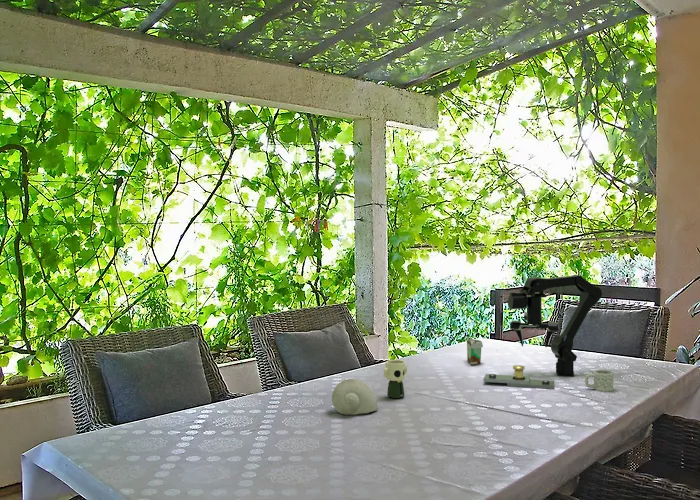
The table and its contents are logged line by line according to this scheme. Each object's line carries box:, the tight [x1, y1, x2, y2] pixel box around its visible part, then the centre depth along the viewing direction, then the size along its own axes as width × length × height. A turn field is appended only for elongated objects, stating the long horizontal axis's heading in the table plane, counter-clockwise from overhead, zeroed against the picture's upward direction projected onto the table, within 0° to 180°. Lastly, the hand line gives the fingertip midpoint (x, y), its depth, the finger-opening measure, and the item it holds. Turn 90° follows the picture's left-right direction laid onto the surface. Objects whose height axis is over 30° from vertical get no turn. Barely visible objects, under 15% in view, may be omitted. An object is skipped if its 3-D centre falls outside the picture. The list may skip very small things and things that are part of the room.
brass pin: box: [512, 364, 526, 380], centre depth 255 cm, size 4×4×7 cm
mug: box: [584, 369, 614, 393], centre depth 245 cm, size 10×7×7 cm, turn 84°
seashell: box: [331, 378, 379, 416], centre depth 222 cm, size 15×14×15 cm
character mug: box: [383, 359, 408, 399], centre depth 238 cm, size 11×7×13 cm, turn 127°
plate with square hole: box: [483, 373, 555, 390], centre depth 255 cm, size 26×8×3 cm, turn 72°
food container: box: [466, 338, 484, 367], centre depth 293 cm, size 12×6×10 cm, turn 179°
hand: (534, 346), depth 268 cm, fingers open, 9 cm apart
